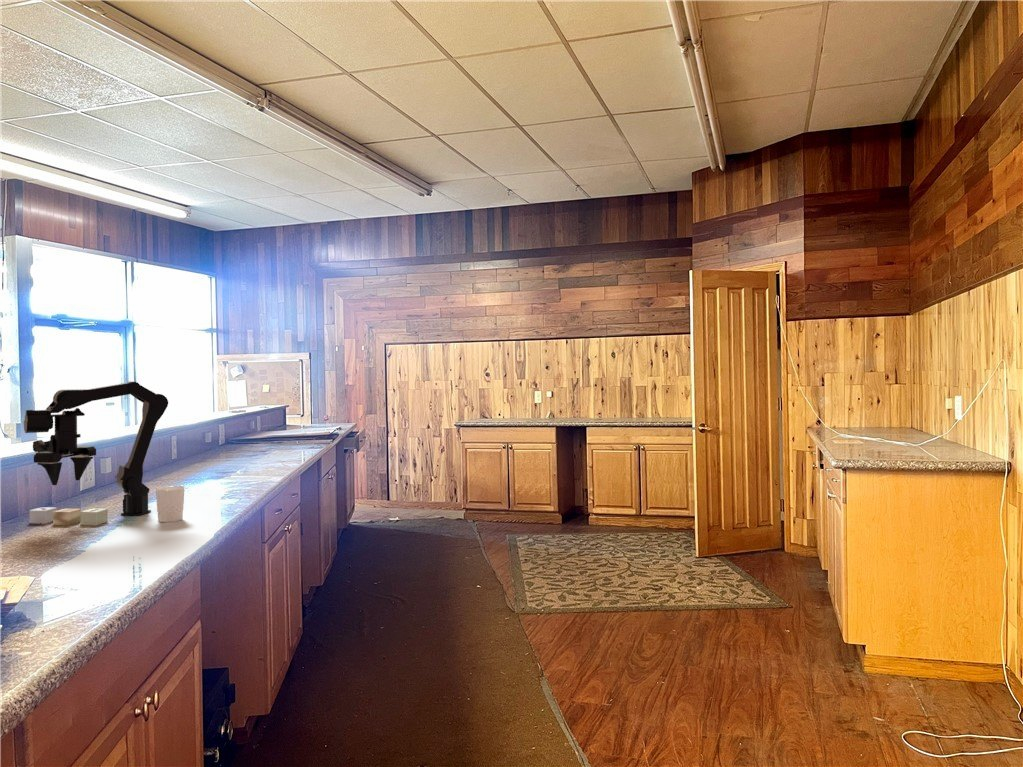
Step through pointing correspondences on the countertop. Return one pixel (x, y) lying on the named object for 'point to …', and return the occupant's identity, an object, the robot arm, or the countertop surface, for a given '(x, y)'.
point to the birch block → (66, 516)
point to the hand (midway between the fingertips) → (66, 482)
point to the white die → (42, 515)
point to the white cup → (170, 503)
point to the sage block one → (94, 516)
